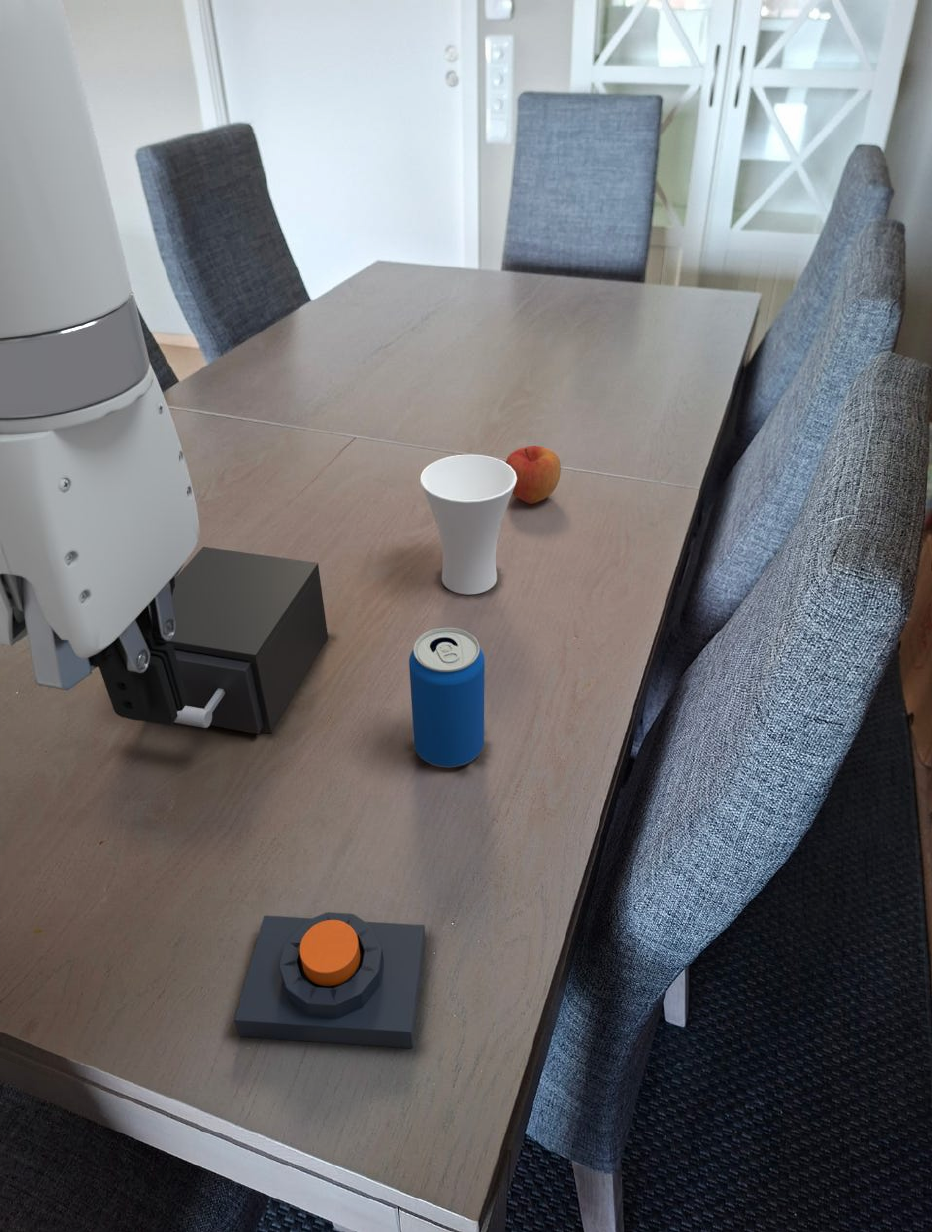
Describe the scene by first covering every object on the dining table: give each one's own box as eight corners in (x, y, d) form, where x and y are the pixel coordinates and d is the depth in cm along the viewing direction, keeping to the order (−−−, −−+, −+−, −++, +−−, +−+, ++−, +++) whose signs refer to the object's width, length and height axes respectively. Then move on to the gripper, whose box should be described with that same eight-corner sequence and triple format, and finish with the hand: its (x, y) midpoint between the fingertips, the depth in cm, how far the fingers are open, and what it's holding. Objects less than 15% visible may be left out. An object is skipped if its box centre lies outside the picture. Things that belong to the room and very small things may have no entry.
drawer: (237, 769, 78) (221, 704, 73) (122, 746, 80) (99, 682, 75) (313, 644, 92) (304, 582, 87) (213, 627, 94) (198, 567, 89)
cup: (530, 571, 104) (534, 469, 95) (483, 616, 97) (483, 511, 88) (457, 545, 108) (455, 445, 100) (407, 586, 101) (400, 484, 93)
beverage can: (468, 715, 85) (468, 617, 77) (494, 761, 80) (496, 662, 72) (405, 732, 83) (398, 634, 75) (427, 781, 78) (422, 681, 71)
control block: (239, 1036, 60) (229, 1006, 57) (268, 932, 66) (260, 900, 64) (412, 1048, 59) (410, 1018, 57) (425, 941, 66) (423, 910, 63)
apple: (569, 496, 117) (573, 442, 112) (537, 518, 113) (540, 463, 108) (525, 479, 121) (527, 426, 116) (493, 500, 117) (493, 446, 112)
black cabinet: (271, 733, 83) (255, 655, 77) (150, 711, 85) (125, 633, 79) (328, 637, 94) (318, 562, 88) (220, 620, 97) (202, 546, 91)
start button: (296, 984, 59) (293, 971, 58) (309, 931, 62) (306, 917, 61) (355, 988, 59) (352, 974, 58) (364, 935, 62) (362, 921, 61)
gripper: (70, 285, 39) (161, 611, 50) (-211, 431, 27) (-11, 811, 39) (224, 297, 37) (283, 630, 49) (-6, 457, 26) (141, 844, 37)
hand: (152, 710), depth 44 cm, fingers closed
